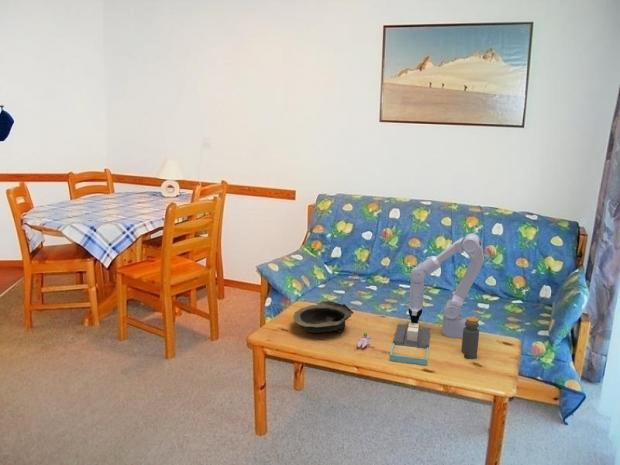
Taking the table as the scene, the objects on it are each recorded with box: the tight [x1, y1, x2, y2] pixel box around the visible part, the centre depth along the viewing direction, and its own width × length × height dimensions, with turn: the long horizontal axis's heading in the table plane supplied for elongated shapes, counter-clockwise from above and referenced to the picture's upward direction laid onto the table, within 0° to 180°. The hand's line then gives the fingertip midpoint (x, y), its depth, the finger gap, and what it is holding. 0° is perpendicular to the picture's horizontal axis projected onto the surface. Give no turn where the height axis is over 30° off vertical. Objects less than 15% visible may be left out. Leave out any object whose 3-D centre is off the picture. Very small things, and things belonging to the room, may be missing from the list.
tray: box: [389, 343, 430, 367], centre depth 207 cm, size 14×12×2 cm
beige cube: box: [407, 327, 418, 341], centre depth 220 cm, size 4×4×4 cm
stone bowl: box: [292, 300, 354, 334], centre depth 231 cm, size 25×25×9 cm
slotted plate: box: [392, 323, 432, 350], centre depth 221 cm, size 14×18×3 cm
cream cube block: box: [407, 322, 420, 332], centre depth 225 cm, size 4×4×4 cm
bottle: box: [461, 316, 480, 360], centre depth 208 cm, size 6×6×15 cm
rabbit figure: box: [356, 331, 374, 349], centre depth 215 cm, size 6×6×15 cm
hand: (414, 325), depth 231 cm, fingers closed
